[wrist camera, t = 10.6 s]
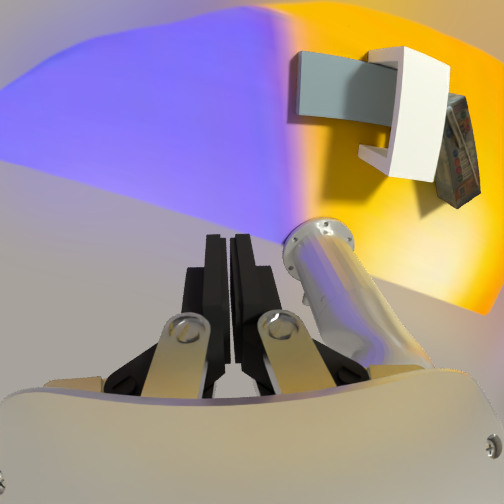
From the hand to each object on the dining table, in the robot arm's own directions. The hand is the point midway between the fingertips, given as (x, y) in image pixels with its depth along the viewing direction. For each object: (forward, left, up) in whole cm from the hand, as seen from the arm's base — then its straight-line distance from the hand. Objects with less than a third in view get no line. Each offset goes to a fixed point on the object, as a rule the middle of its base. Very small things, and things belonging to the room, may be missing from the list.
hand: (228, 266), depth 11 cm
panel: (+9, -18, -30) cm, 35 cm away
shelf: (+7, -24, -29) cm, 38 cm away
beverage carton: (+3, -37, -30) cm, 48 cm away
